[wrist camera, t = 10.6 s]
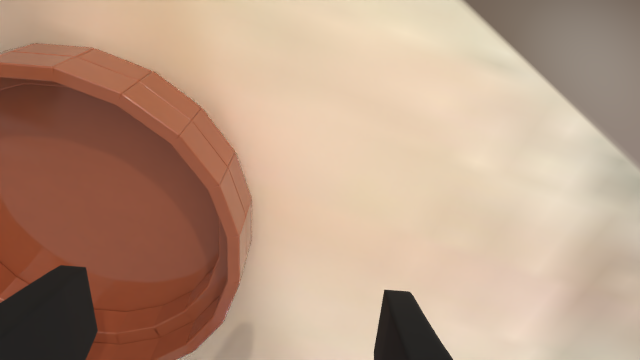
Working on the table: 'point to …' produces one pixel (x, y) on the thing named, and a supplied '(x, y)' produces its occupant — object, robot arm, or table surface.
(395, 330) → the robot arm
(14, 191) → the bowl
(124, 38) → the table surface
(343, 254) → the table surface
